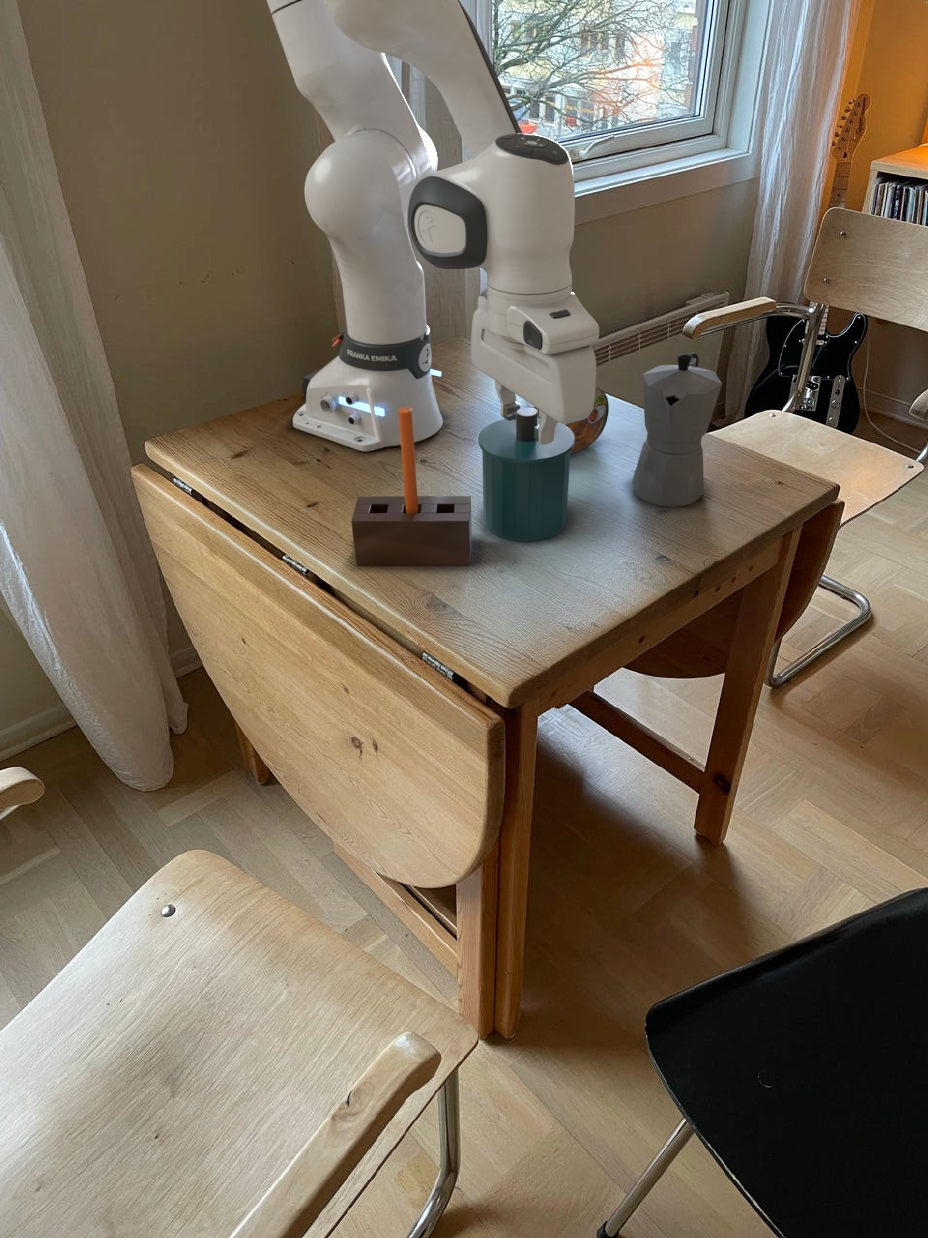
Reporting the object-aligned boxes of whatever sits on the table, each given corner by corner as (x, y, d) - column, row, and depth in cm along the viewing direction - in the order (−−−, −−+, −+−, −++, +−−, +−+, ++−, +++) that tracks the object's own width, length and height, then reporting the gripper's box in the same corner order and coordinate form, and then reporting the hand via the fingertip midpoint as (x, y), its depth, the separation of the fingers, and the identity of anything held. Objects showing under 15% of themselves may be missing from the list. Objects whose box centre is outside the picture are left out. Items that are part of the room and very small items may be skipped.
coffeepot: (695, 521, 109) (717, 380, 98) (619, 508, 111) (632, 370, 100) (715, 464, 120) (736, 332, 109) (645, 454, 123) (660, 324, 112)
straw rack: (362, 539, 107) (357, 496, 104) (471, 539, 107) (470, 495, 103) (356, 565, 103) (351, 521, 99) (470, 565, 102) (469, 521, 99)
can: (470, 530, 108) (468, 451, 102) (503, 492, 115) (504, 416, 109) (548, 549, 105) (551, 468, 98) (578, 508, 112) (582, 430, 105)
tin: (533, 472, 119) (535, 414, 114) (517, 464, 121) (518, 407, 116) (608, 437, 127) (613, 381, 122) (592, 430, 129) (595, 374, 124)
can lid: (462, 457, 102) (461, 423, 99) (501, 418, 110) (501, 385, 107) (553, 476, 98) (555, 440, 95) (587, 434, 106) (590, 400, 103)
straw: (407, 554, 105) (396, 411, 94) (412, 548, 106) (402, 406, 95) (417, 556, 104) (407, 413, 93) (423, 550, 105) (414, 408, 94)
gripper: (455, 288, 100) (459, 403, 109) (557, 344, 86) (552, 472, 94) (503, 278, 103) (503, 392, 111) (610, 331, 88) (600, 457, 97)
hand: (526, 429), depth 103 cm, fingers open, 6 cm apart
